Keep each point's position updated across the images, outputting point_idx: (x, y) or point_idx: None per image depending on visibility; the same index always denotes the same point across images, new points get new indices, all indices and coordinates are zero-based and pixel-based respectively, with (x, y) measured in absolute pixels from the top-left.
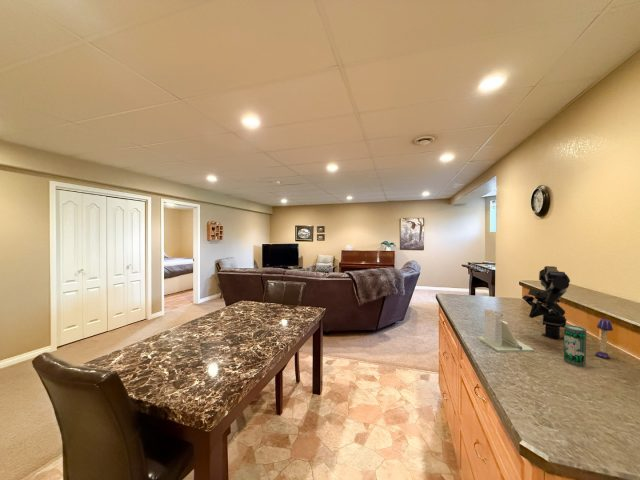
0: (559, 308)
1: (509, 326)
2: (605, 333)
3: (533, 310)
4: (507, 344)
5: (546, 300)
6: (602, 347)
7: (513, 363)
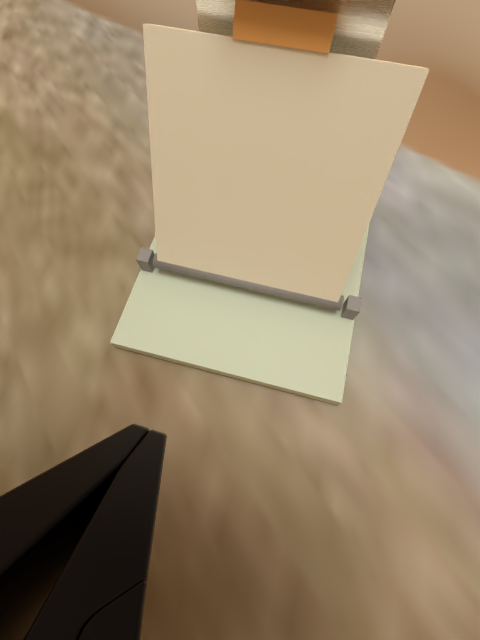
0: None
1: (147, 74)
2: None
3: (60, 589)
4: None
5: None
6: None
7: (87, 137)
